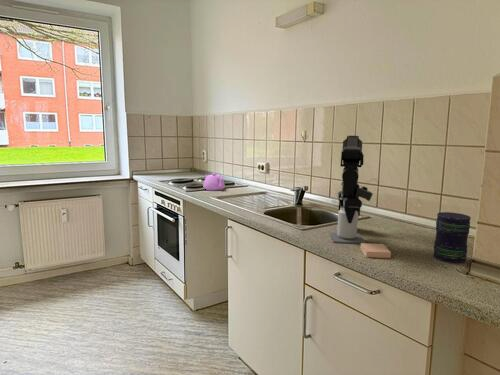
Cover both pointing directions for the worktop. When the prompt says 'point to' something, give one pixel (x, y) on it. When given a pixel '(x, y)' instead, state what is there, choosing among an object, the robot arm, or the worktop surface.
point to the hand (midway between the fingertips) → (347, 220)
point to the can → (347, 225)
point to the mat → (337, 239)
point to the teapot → (213, 182)
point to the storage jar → (451, 237)
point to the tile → (375, 250)
